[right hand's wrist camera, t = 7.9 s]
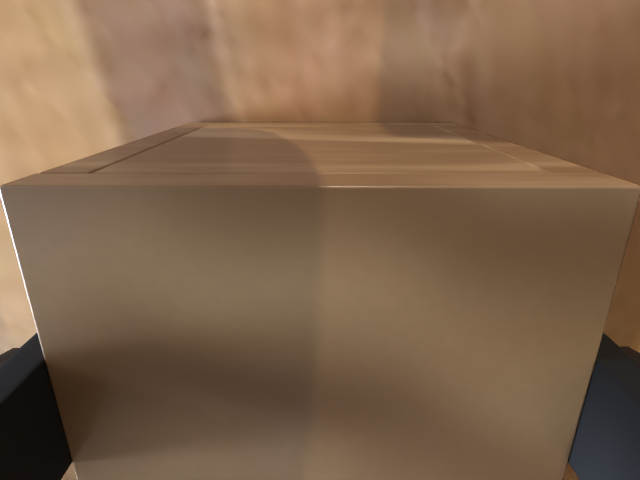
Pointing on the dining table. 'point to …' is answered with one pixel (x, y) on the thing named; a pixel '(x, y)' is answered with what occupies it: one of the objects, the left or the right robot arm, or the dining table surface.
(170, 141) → the cabinet
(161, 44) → the dining table surface
